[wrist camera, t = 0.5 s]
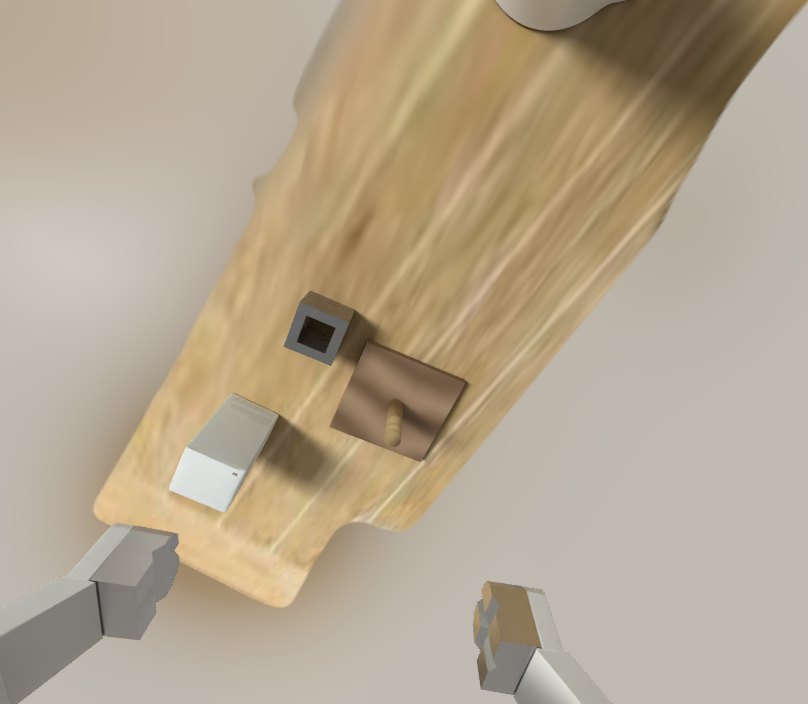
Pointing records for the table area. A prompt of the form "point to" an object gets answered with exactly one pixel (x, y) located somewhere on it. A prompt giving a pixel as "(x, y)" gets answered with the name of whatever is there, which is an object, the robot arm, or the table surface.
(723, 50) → the table surface
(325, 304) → the collar
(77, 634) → the robot arm
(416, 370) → the post board
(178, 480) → the supplement box
